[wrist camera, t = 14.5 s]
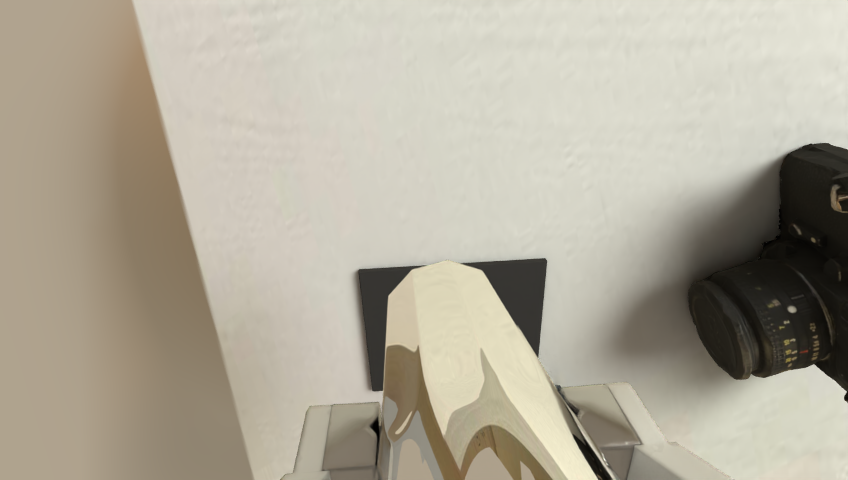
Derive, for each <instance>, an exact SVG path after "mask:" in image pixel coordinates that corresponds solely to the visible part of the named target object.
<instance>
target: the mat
mask: <svg viewBox="0 0 848 480" xmlns="http://www.w3.org/2000/svg"><path fill="white" fill-rule="evenodd" d="M460 264H463V265H466V266H469V267H473V268H476V269H479V270H482V271H483V273H484V274H485V276H486V277H487V279H488V280H489V282H490V283H491V285H492V286H493V288H494V289H495V291H496V292H497V294H498V295H499V297H500V298H501V300H502V301H503V303H504V304H505V306H506V308H507V309H508V311H509V312H510V314H511V316H512V317H513V319H514V320H515V322H516V324H517V325H518V327H519V328H520V330H521V332H522V333H523V335H524V337H525V338H526V340H527V341H528V343H529V345H530V346H531V348H532V349H533V351H534V353H535V354H536V356H537V358H538V354H539V343H540V332H541V321H542V310H543V299H544V289H545V278H546V267H547V260H546V259H545V258H544V259H527V260H510V261H493V262H476V263H460ZM426 266H427V265H426ZM420 267H424V266H409V267H393V268H376V269H360V270H359V279H360V288H361V296H362V305H363V314H364V322H365V331H366V339H367V348H368V357H369V365H370V374H371V382H372V391H383V384H384V366H385V347H386V328H387V308H388V296H389V295H390V294H391V292H392V291H393V290H394V289H395V288H396V287H397V286H398V285H399V284H400V283H401V281H402V280H403V279H404V278H405V277H406V276H407V275H408V274H409V272H410V271H411V270H412V269H416V268H420Z"/></svg>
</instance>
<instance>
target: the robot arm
mask: <svg viewBox="0 0 848 480" xmlns="http://www.w3.org/2000/svg"><path fill="white" fill-rule="evenodd" d="M558 391H559V393H560V394H561V396H562V398H563V399H564V401H565V402H566V404H567V405H568V406H569V408H570V409H571V410H572V412H573V413H574V414H575V416H576V417H577V418H578V419H579V421H580V422H581V423H582V425H583V426H584V427H585V429H586V430H587V431H588V433H589V434H590V436H591V437H592V438H593V440H594V441H595V443H596V444H597V446H598V447H599V448H600V450H601V451H602V453H603V454H604V456H605V457H606V459H607V460H608V462H609V463H610V465H611V466H612V467H613V469H614V470H615V472H616V473H617V475H618V476H619V478H620V479H621V480H734V479H732V478H731V477H729V476H728V475H726V474H724V473H723V472H721V471H720V470H718V469H717V468H715V467H714V466H712V465H710V464H709V463H707V462H706V461H704V460H703V459H701V458H700V457H698V456H696V455H695V454H693V453H692V452H690V451H689V450H687V449H685V448H684V447H682V446H681V445H679V444H678V443H676V442H674V443H669V442H668V441H667V439H666V438H665V436H664V435H663V433H662V432H661V430H660V429H659V427H658V426H657V424H656V423H655V421H654V420H653V418H652V416H651V415H650V413H649V412H648V410H647V409H646V407H645V406H644V404H643V403H642V401H641V400H640V398H639V397H638V395H637V394H636V392H635V391H634V389H633V387H632V386H631V385H630V384H629V383H627V382H620V383H609V384H603V385H602V384H597V385H586V386H574V387H563V388H558ZM380 431H381V409H380V403H379V402H369V403H350V404H333V405H320V406H310V407H309V408H308V410H307V412H306V416H305V420H304V425H303V429H302V434H301V438H300V443H299V447H298V452H297V456H296V461H295V465H294V470H293V473H291V474H285V475H284V476H283V477H282V478H281V479H280V480H375V474H376V467H377V459H378V451H379V442H380Z"/></svg>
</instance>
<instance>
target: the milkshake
mask: <svg viewBox="0 0 848 480" xmlns="http://www.w3.org/2000/svg"><path fill="white" fill-rule="evenodd" d="M375 480H621V479H620V478H619V476H618V475H617V473H616V472H615V470H614V469H613V467H612V466H611V465H610V463H609V462H608V460H607V459H606V457H605V456H604V454H603V453H602V451H601V450H600V448H599V447H598V446H597V444H596V443H595V441H594V440H593V438H592V437H591V436H590V434H589V433H588V431H587V430H586V429H585V427H584V426H583V425H582V423H581V422H580V421H579V419H578V418H577V417H576V416H575V414H574V413H573V412H572V410H571V409H570V408H569V406H568V405H567V404H566V402H565V401H564V399H563V398H562V396H561V394H560V393H559V391H558V390H557V388H556V386H555V385H554V383H553V382H552V380H551V378H550V377H549V375H548V374H547V372H546V370H545V369H544V367H543V366H542V364H541V362H540V361H539V359H538V358H537V356H536V354H535V353H534V351H533V349H532V348H531V346H530V345H529V343H528V341H527V340H526V338H525V337H524V335H523V333H522V332H521V330H520V328H519V327H518V325H517V324H516V322H515V320H514V319H513V317H512V316H511V314H510V312H509V311H508V309H507V308H506V306H505V304H504V303H503V301H502V300H501V298H500V297H499V295H498V294H497V292H496V291H495V289H494V288H493V286H492V285H491V283H490V282H489V280H488V279H487V277H486V276H485V274H484V273H483V271H482V270H479V269H476V268H473V267H469V266H466V265H463V264H460V263H457V262H453V261H450V260H445V261H442V262H438V263H435V264H431V265H427V266H424V267H420V268H416V269H412V270H411V271H410V272H409V274H408V275H407V276H406V277H405V278H404V279H403V280H402V281H401V283H400V284H399V285H398V286H397V287H396V288H395V289H394V290H393V291H392V292H391V294H390V295H389V296H388V308H387V328H386V347H385V366H384V384H383V402H382V418H381V431H380V442H379V451H378V459H377V467H376V474H375Z"/></svg>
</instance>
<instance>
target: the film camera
mask: <svg viewBox="0 0 848 480" xmlns="http://www.w3.org/2000/svg"><path fill="white" fill-rule="evenodd" d="M780 177H781V183H780V199H781V204H780V209H779V212H780V214H779V217H780V220H779V223H781V224H780V225H779V229H780V235H779V236H776V238H777V239H775V240H773V241H769V242H767V243H765V242H764V243H763V244H762V245H763V246H764V248H763V251H762V254H761V256H760V258H759V259H758V260H756V261H751V262H746V263H744V264H742V265H740V266H737V267H734V268H731V269H728V270H725V271H721V272H717V273H715V274H713V275H711V276H710V277H708V278H707V279H705V280H703V281H699V282H696V283H693V284H692V286H691V287H690V289H689V293H688V302H689V309H690V313H691V316H692V319H693V322H694V324H695V326H696V329H697V332H698V335H699V337H700V339H701V341H702V343H703V345H704V346H705V348H706V350H707V351H708V353H709V354H710V356H711V357H712V358H713V360H714V361H715V362H716V363H717V365H718V366H719V367H721V368H722V369H723V370H724V371H725V372H727V373H728V374H729V375H730V376H731V377H733V378H734V379H737V380H744V379H748V378H749V377H750V375H751V374H752V375H754V376H757V377H762V378H765V377H769V376H772V375H776V374H779V373H781V372H784V371H788V370H793V369H800V368H806V367H808V366H811V365H813V364H815V365H816V366H817V367H818V368H819V369H820V370H822V371H823V372H824V373H825V374H826V375H828V376H829V377H830V378H832V379H834V380H835V381H836V382H837V383H838V384H839V385H840V386H841V387H842V388H843V389H845V390H846V391H847V393H846V395H845V396H844V400H845V401H846V402H848V150H847V149H844V148H841V147H836V146H833V145H830V144H829V143H819V144H809V145H807V146H803V147H802V148H800V149H798V150H795V151H793V152H791V153H790V154H788V156H787V157H786V158H785V159H784V162H783V164H782V168H781V171H780Z"/></svg>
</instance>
